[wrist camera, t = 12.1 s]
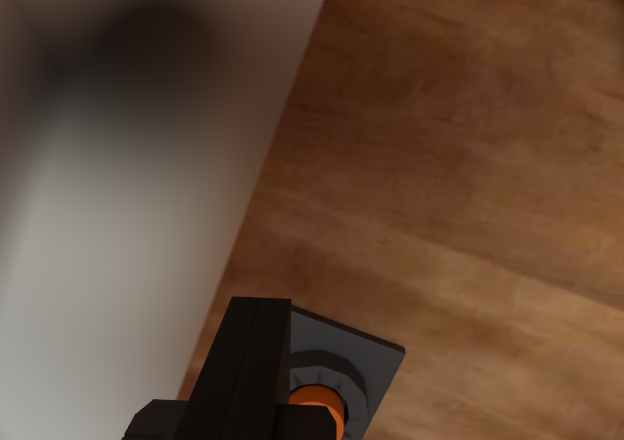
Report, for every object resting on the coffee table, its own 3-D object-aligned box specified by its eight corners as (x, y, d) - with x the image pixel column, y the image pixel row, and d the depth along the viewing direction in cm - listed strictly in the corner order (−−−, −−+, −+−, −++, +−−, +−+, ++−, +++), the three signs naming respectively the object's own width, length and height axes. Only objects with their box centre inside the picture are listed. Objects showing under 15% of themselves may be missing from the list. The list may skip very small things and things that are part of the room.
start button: (297, 375, 34) (295, 393, 32) (353, 396, 34) (353, 414, 32) (276, 421, 35) (273, 441, 33) (330, 441, 35) (330, 461, 34)
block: (285, 302, 35) (281, 322, 32) (404, 347, 35) (409, 370, 33) (233, 427, 38) (225, 453, 35) (343, 466, 38) (343, 495, 36)
